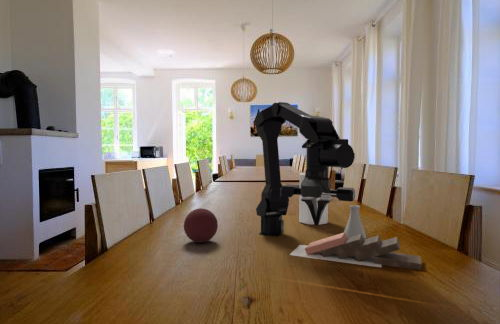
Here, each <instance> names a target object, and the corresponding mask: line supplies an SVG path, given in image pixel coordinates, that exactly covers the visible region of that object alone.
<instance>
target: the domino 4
mask: <svg viewBox="0 0 500 324" xmlns="http://www.w3.org/2000/svg"><path fill="white" fill-rule="evenodd" d="M396 251H400V241H399V239H398V236H395V237H392V238H388V239H385V240H381V246H380V248H377V249H374V250H370V251H367V252H363V253H360V254H356V255H355V256H356V259H357V261H360V260H364V259H368V258H371V257H375V256H379V255H382V254H386V253H390V252H396Z"/></svg>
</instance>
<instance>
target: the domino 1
mask: <svg viewBox="0 0 500 324" xmlns="http://www.w3.org/2000/svg"><path fill="white" fill-rule="evenodd" d="M346 240H347V236H346V233H345V232H344V231H343V232H340V233H338V234H334V235H332V236H327V237H324V238H322V239H319V240H318V239H317V240H315V241H311V242H310V243H308V245H307V247H306V248H305V251H306V253H307V255H308V254H311V253H315V252H318V251H321V250H325V249H328V248H332V247H335V246H339V245H342V244H344V243H345V241H346Z"/></svg>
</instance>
